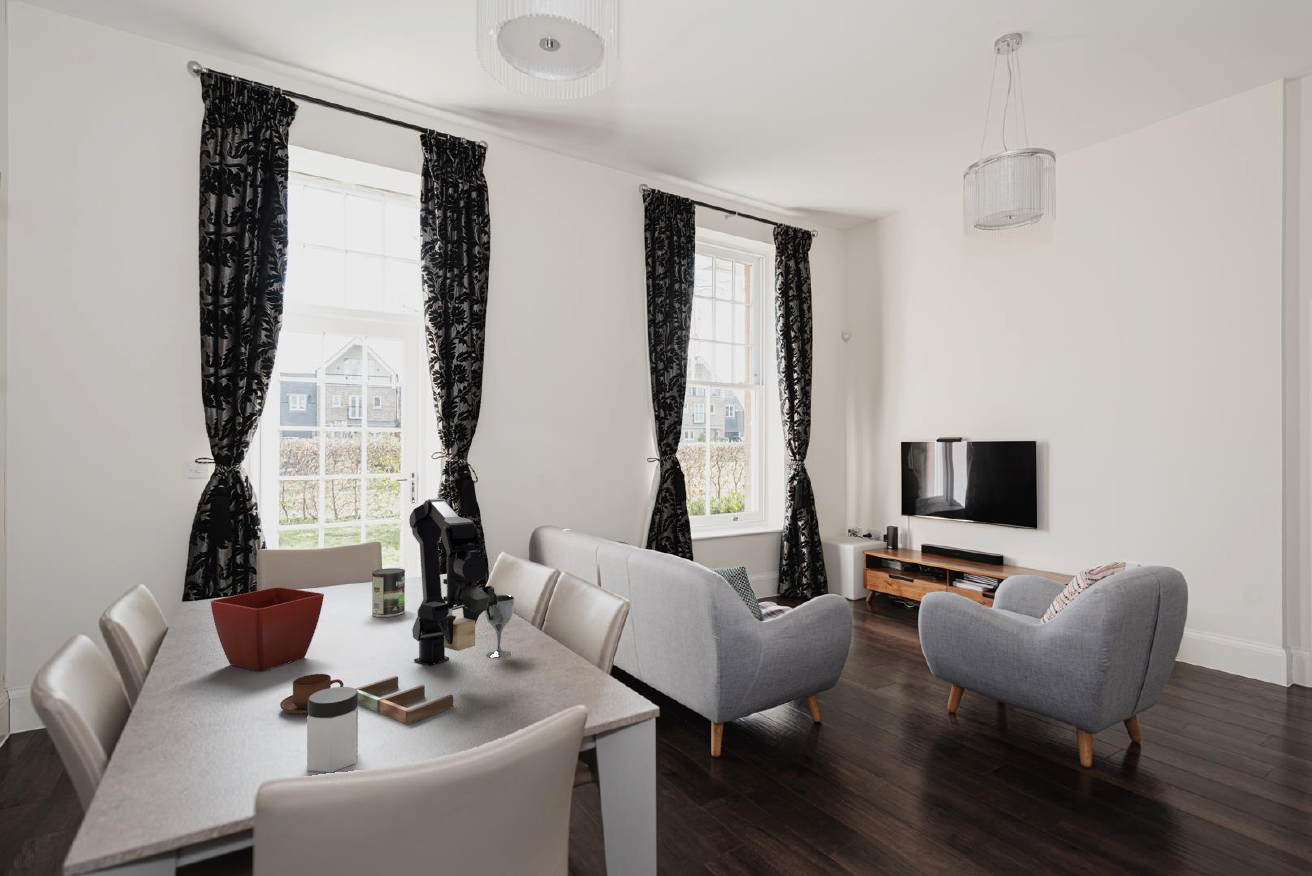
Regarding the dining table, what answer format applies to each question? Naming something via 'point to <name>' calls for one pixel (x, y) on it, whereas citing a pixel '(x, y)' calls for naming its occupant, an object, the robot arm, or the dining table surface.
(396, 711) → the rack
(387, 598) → the coffee can
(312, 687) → the cup and saucer
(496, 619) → the wine glass
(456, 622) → the block
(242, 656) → the plant pot
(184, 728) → the dining table surface
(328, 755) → the jar
